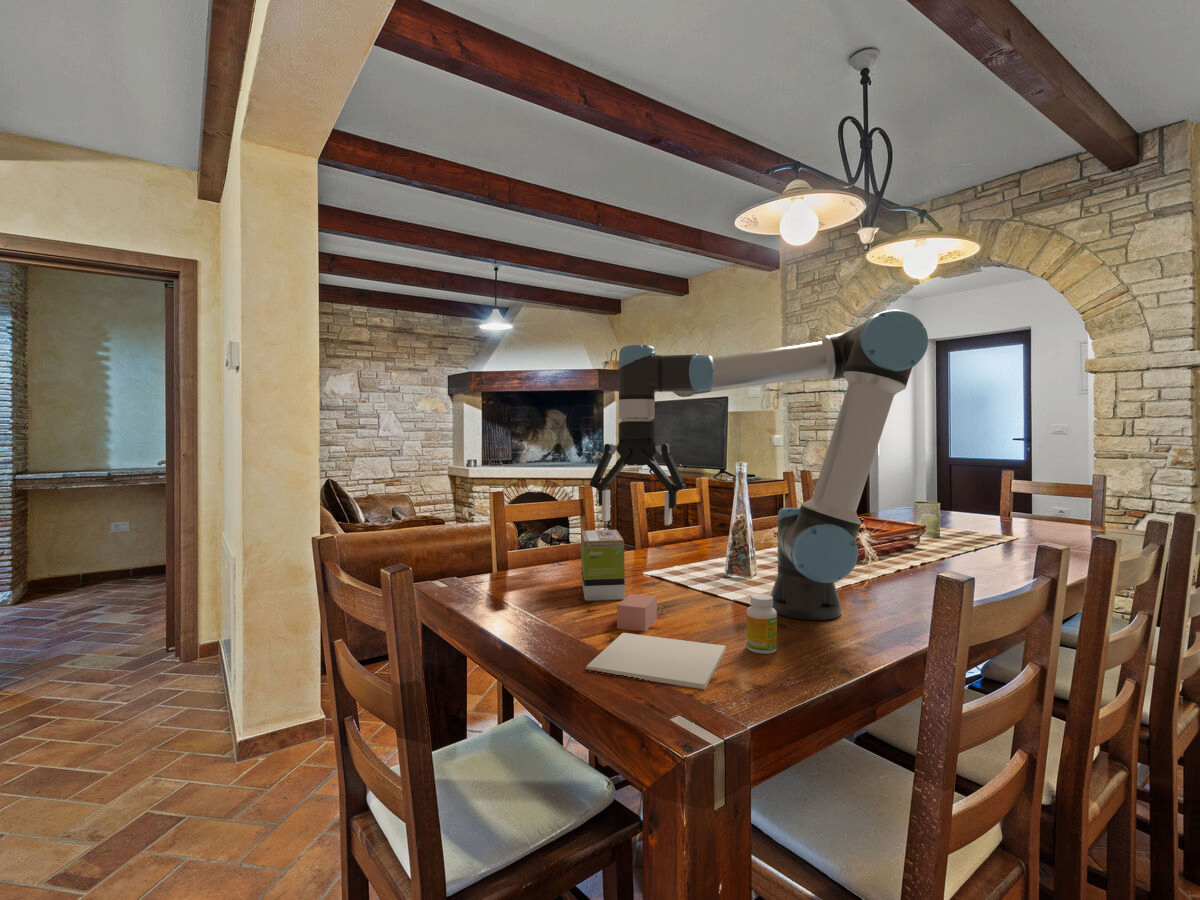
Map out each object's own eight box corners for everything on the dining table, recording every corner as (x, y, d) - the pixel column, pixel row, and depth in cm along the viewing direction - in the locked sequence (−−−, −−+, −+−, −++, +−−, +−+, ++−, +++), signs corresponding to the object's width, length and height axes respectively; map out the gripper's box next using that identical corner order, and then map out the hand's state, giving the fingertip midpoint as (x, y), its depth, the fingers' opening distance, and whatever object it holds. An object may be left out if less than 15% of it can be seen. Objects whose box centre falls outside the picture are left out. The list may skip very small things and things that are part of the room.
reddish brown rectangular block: (656, 619, 127) (656, 596, 127) (645, 632, 119) (645, 607, 119) (630, 616, 130) (630, 593, 129) (617, 629, 121) (617, 605, 121)
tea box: (580, 585, 156) (580, 529, 156) (618, 584, 157) (618, 528, 156) (583, 601, 141) (583, 539, 141) (625, 600, 142) (625, 538, 141)
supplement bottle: (772, 656, 105) (772, 602, 105) (742, 651, 108) (742, 598, 108) (780, 647, 110) (780, 595, 110) (751, 642, 113) (751, 591, 112)
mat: (725, 650, 108) (725, 645, 108) (704, 689, 92) (705, 684, 92) (622, 636, 116) (622, 632, 116) (586, 670, 99) (586, 666, 99)
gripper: (700, 420, 122) (699, 523, 123) (588, 421, 131) (588, 517, 132) (691, 419, 115) (691, 528, 116) (574, 421, 124) (574, 521, 125)
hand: (636, 522), depth 124 cm, fingers open, 13 cm apart
